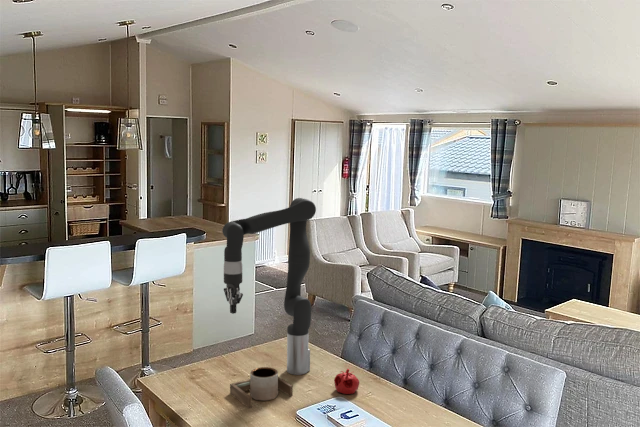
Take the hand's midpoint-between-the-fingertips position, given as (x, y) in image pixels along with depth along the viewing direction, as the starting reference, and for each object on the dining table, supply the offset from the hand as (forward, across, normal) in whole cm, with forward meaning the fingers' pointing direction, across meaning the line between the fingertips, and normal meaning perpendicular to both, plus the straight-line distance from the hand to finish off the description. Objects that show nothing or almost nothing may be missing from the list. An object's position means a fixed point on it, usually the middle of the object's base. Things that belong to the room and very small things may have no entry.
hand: (233, 312), depth 232 cm
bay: (+29, -18, -3) cm, 35 cm away
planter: (+29, -19, -4) cm, 35 cm away
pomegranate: (+29, -34, -33) cm, 56 cm away
